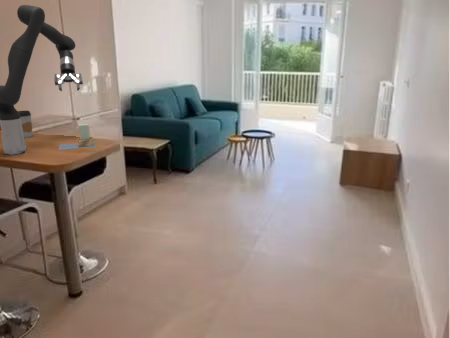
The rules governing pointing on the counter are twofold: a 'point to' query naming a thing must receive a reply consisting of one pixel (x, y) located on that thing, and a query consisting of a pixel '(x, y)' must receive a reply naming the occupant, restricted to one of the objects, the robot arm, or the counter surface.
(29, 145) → the counter surface
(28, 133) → the coffee cup
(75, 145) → the blueprint board
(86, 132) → the pillar
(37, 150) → the counter surface
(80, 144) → the socket block
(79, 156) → the counter surface
